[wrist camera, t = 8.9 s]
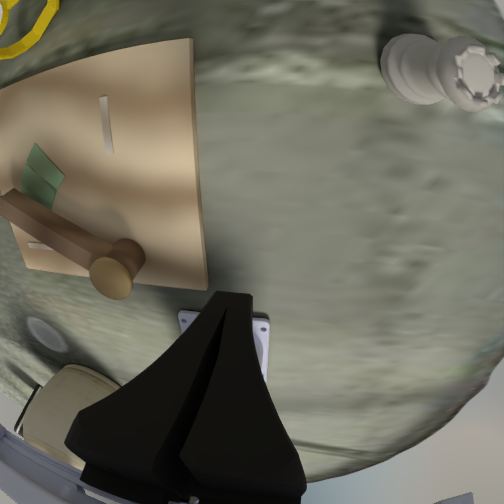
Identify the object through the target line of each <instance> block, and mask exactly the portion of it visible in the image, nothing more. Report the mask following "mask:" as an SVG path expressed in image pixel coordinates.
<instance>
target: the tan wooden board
mask: <svg viewBox="0 0 504 504" xmlns="http://www.w3.org/2000/svg"><path fill="white" fill-rule="evenodd" d="M13 188H15V189H16V190H18V191H20V192H21V193H23V194H25V195H26V196H28V197H29V198H31V199H33V200H34V201H36V202H38V203H39V204H41V205H43V206H44V207H46V208H48V209H50V210H51V211H53V212H55V213H56V214H58V215H60V216H61V217H63V218H65V219H67V220H68V221H70V222H72V223H74V224H75V225H77V226H79V227H81V228H82V229H84V230H86V231H88V232H90V233H91V234H93V235H95V236H97V237H99V238H100V239H102V240H104V241H106V242H108V243H109V244H111V245H114V244H115V243H116V242H117V241H118V240H119V239H122V238H128V239H131V240H133V241H135V242H137V243H138V244H139V245H140V246H141V247H142V249H143V251H144V253H145V263H144V264H143V266H142V267H141V269H140V270H139V272H138V274H137V275H136V277H135V278H134V280H133V283H139V284H148V285H157V286H166V287H175V288H185V289H194V290H205V291H207V288H208V285H209V281H208V271H207V261H206V251H205V240H204V229H203V218H202V206H201V193H200V179H199V165H198V149H197V131H196V111H195V86H194V50H193V39H191V38H185V39H176V40H169V41H162V42H156V43H150V44H144V45H139V46H134V47H129V48H124V49H120V50H115V51H111V52H107V53H103V54H99V55H95V56H91V57H88V58H84V59H81V60H77V61H74V62H71V63H68V64H65V65H62V66H59V67H56V68H53V69H50V70H47V71H44V72H42V73H39V74H36V75H34V76H31V77H29V78H26V79H24V80H21V81H19V82H16V83H14V84H12V85H10V86H7V87H5V88H3V89H1V90H0V190H1V193H2V196H3V195H4V194H6V193H7V192H8V191H10V190H11V189H13ZM10 223H11V222H10ZM11 226H12V229H13V232H14V235H15V237H16V240H17V243H18V246H19V248H20V251H21V253H22V256H23V258H24V261H25V263H26V266H27V268H31V269H37V270H43V271H50V272H57V273H63V274H70V275H77V276H84V277H90V276H89V271H88V270H86V269H85V268H83V267H81V266H80V265H78V264H76V263H74V262H73V261H71V260H69V259H68V258H66V257H64V256H63V255H61V254H59V253H58V252H56V251H55V250H53V249H51V248H50V247H48V246H47V245H45V244H43V243H42V242H40V241H39V240H37V239H35V238H34V237H32V236H31V235H29V234H28V233H26V232H25V231H23V230H22V229H20V228H19V227H17V226H16V225H14V224H13V223H11Z"/></svg>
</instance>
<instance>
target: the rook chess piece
mask: <svg viewBox="0 0 504 504" xmlns="http://www.w3.org/2000/svg"><path fill="white" fill-rule="evenodd" d="M500 63H501V61H500V60H499V59H498V57H497V56H496V54H495V53H490V52H489V51H488V49H487V48H486V47H485V46H484V45H483V44H481V43H480V42H478V41H477V40H475V39H474V38H470V37H465V36H458V37H454V38H451V39H449V40H448V41H447V42H445V43H442V44H439V43H438V42H436V41H434V40H433V39H431V38H429V37H427V36H425V35H421V34H411V33H410V34H402V35H399V36H396V37H394V38H392V39H391V40H390V41H389V42H388V43H387V44H386V45H385V47H384V48H383V52H382V55H381V59H380V64H381V72H382V76H383V78H384V80H385V82H386V84H387V86H388V88H389V89H390V90H391V91H392V92H394V93H395V94H396V95H397V96H398V97H399V98H401V99H403V100H405V101H407V102H409V103H413V104H425V105H430V104H433V103H435V102H438V101H440V100H442V99H444V97H445V98H447V99H449V100H450V101H452V102H453V103H454V104H455V105H457V106H459V107H460V108H462V109H464V110H465V111H471V112H480V111H482V110H485V109H487V108H489V107H490V106H491V104H492V103H496V104H497V103H498V102H499V101H500V100H501V99H502V97H503V96H502V95H501V94H500V93H499V92H498V91H499V87H500V85H503V86H504V74H501V73H499V70H498V68H497V65H499V64H500Z"/></svg>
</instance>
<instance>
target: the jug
mask: <svg viewBox="0 0 504 504" xmlns="http://www.w3.org/2000/svg"><path fill="white" fill-rule="evenodd" d="M119 388H121V387H120V386H119V385H118V384H116V383H115V382H113V381H112V380H110V379H109V378H107V377H106V376H104V375H102V374H101V373H99V372H96V371H94V370H92V369H90V368H88V367H85V366H81V365H77V364H69V365H66V366H64V367H63V369H61V370H60V371H58V372H57V373H56V374H55V375H54V376H53V377H52V378H51V379H50V380H49V381H48V383H47V384H46V385H45V386H44V387H43V388H42V389H41V391H40V392H39V393H38V394H37V395H36V396H35V398H34V399H33V400H32V401H31V403H30V404H29V406H28V408H27V410H26V412H25V416H24V421H23V436H24V441H25V442H27V443H29V444H30V445H32V446H34V447H36V448H38V449H39V450H41V451H43V452H45V453H47V454H49V455H51V456H53V457H54V458H56V459H58V460H60V461H63V462H65V463H67V464H69V465H71V466H73V467H75V468H77V469H80V470H82V471H83V469H84V466H85V463H86V462H84V461H83V460H82V459H80V458H79V457H78V456H76V455H75V454H74V453H72V452H71V451H70V450H69V449H68V448H67V447H66V446H65V444H64V441H65V439H66V436H67V434H68V432H69V429H70V427H71V425H72V423H73V420H74V419H75V417H76V415H77V414H78V412H79V411H80V410H82V409H84V408H86V407H88V406H90V405H92V404H94V403H96V402H98V401H99V400H101V399H103V398H105V397H107V396H108V395H110V394H111V393H113V392H114V391H116V390H118V389H119Z"/></svg>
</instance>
